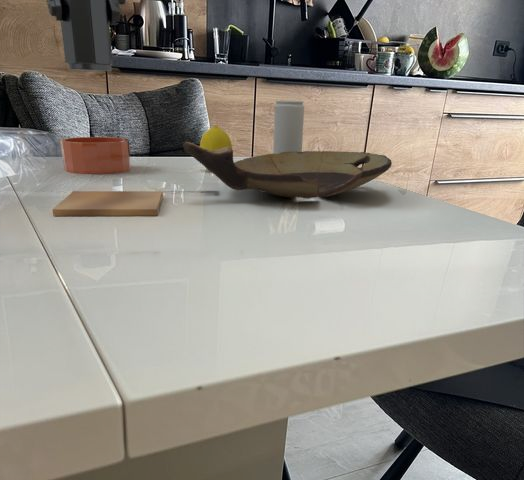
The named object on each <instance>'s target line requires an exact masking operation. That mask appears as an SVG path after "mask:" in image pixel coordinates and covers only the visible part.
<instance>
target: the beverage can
mask: <svg viewBox="0 0 524 480" xmlns="http://www.w3.org/2000/svg"><path fill="white" fill-rule="evenodd" d="M275 103H276V104H274V114H273V115H274V116H273V117H274V118H273V152H272V154H273V153H274V154H279V153H282V152H296V151H297V152H303V135H304V120H305V119H304V117H305V105H304V100H275Z"/></svg>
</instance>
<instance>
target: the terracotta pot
mask: <svg viewBox="0 0 524 480" xmlns="http://www.w3.org/2000/svg"><path fill="white" fill-rule="evenodd" d="M59 142H60V143H59V144H60V151H61V158H62V164H63V170H64V172H66V173H70V174H77V175H111V174H121V173H126V172H127V173H128V172H130V171H131V170H132V165H131V164H132V163H131V161H132V160H131V149H130V140H129V139H128V138H123V137H114V136H113V137H112V136H79V137H66V138H62V139H60V141H59Z"/></svg>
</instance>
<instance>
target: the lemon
mask: <svg viewBox="0 0 524 480" xmlns="http://www.w3.org/2000/svg"><path fill="white" fill-rule="evenodd" d="M232 145H233V144H232V140H231V138H230V136H229V135H228V133H227V132H226V131H225V130H223V129H221V128H220V127H219V126H218V125H213V126H212V127H211V128H209V129H207V130H206V131H205V132H204V133H203V135H202V136H201V139H200V141H199V147H201V148H204V149H207V150H211V151H214V150H218V149H221V148H224V147H230V148H232V149H233V146H232ZM204 168H205V169H207V168H206V167H205V166H204Z"/></svg>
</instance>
